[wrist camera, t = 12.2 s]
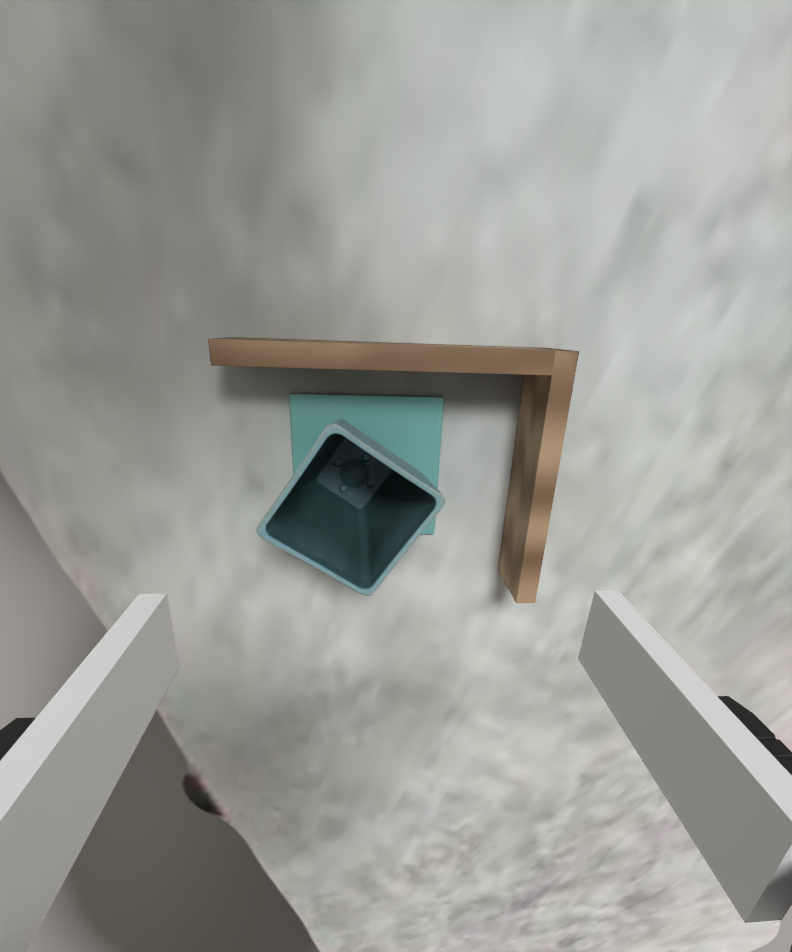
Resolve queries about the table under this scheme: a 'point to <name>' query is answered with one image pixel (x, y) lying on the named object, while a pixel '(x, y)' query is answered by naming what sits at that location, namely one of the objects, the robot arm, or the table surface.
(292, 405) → the pad
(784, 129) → the table surface
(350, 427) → the flower pot
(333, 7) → the table surface
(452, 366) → the corner arena
